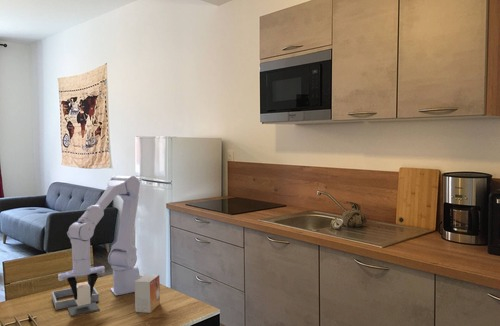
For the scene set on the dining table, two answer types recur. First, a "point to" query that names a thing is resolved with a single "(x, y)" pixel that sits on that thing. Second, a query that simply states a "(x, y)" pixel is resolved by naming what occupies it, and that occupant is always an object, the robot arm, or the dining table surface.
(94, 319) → the dining table surface
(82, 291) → the block
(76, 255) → the robot arm
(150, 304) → the small box
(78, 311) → the mat
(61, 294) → the grey rectangular frame
